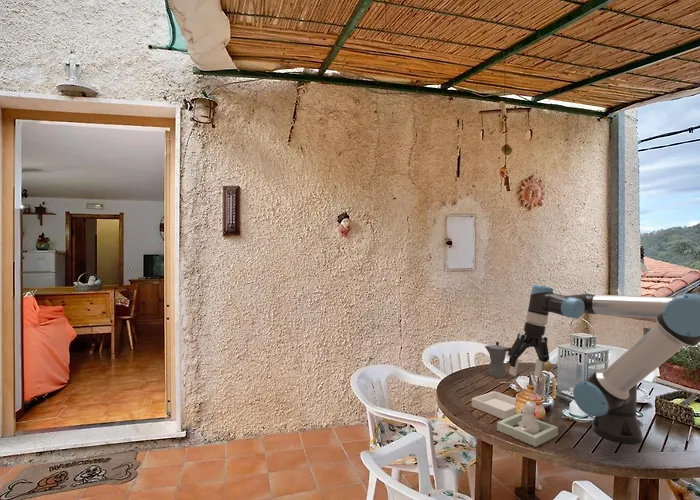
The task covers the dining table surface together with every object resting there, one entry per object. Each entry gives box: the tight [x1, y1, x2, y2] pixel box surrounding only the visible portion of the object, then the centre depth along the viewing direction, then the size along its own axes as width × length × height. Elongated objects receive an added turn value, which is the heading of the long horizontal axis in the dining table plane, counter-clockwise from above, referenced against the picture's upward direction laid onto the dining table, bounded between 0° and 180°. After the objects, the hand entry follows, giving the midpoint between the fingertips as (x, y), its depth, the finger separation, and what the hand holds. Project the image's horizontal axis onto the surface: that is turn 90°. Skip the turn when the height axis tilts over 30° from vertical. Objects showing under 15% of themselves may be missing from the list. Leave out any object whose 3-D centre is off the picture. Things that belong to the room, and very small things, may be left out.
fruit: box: [534, 358, 552, 372], centre depth 218 cm, size 8×8×8 cm
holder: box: [496, 413, 559, 448], centre depth 144 cm, size 15×15×3 cm
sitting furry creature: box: [514, 400, 540, 435], centre depth 144 cm, size 10×9×12 cm
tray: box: [471, 390, 517, 420], centre depth 166 cm, size 16×16×4 cm
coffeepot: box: [484, 341, 511, 379], centre depth 211 cm, size 15×9×18 cm, turn 59°
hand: (525, 375), depth 157 cm, fingers open, 13 cm apart
